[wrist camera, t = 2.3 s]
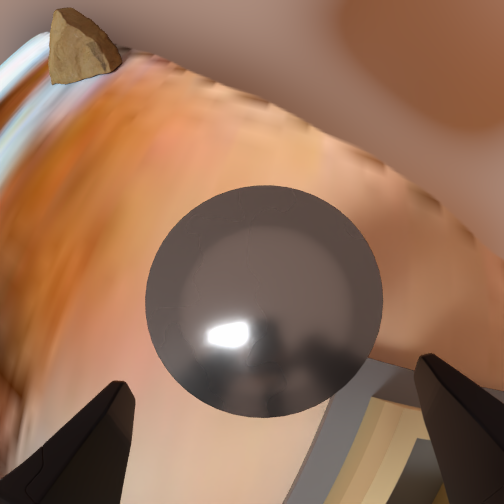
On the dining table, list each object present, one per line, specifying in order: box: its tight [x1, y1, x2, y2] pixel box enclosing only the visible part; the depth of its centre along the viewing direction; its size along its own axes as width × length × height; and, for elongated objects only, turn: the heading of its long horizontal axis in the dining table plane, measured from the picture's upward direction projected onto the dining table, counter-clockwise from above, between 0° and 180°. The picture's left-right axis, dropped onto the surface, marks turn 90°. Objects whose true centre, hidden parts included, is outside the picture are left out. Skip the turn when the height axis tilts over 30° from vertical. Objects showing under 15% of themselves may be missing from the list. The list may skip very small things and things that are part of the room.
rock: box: [48, 8, 122, 85], centre depth 27 cm, size 11×9×10 cm
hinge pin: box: [145, 186, 383, 418], centre depth 12 cm, size 5×5×12 cm
